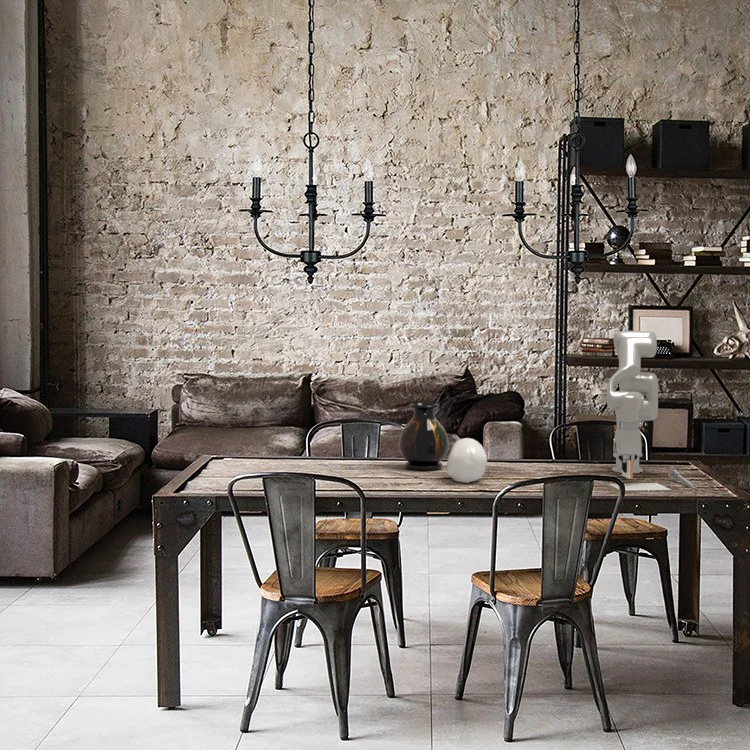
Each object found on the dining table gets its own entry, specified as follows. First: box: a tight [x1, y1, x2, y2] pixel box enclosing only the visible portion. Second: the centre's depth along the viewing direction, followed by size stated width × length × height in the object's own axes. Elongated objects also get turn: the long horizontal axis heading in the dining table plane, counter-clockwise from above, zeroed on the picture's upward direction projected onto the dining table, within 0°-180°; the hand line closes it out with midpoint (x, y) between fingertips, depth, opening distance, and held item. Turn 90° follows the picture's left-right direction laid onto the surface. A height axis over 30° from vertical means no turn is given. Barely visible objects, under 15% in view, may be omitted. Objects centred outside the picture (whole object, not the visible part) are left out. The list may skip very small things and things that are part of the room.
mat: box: [608, 482, 672, 492], centre depth 390 cm, size 15×20×1 cm
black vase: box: [398, 402, 450, 472], centre depth 434 cm, size 22×22×28 cm
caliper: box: [668, 465, 696, 489], centre depth 399 cm, size 20×1×6 cm, turn 10°
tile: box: [621, 458, 634, 480], centre depth 396 cm, size 8×2×7 cm, turn 5°
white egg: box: [446, 437, 488, 484], centre depth 405 cm, size 16×20×22 cm
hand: (627, 471), depth 396 cm, fingers closed on tile, 1 cm apart
